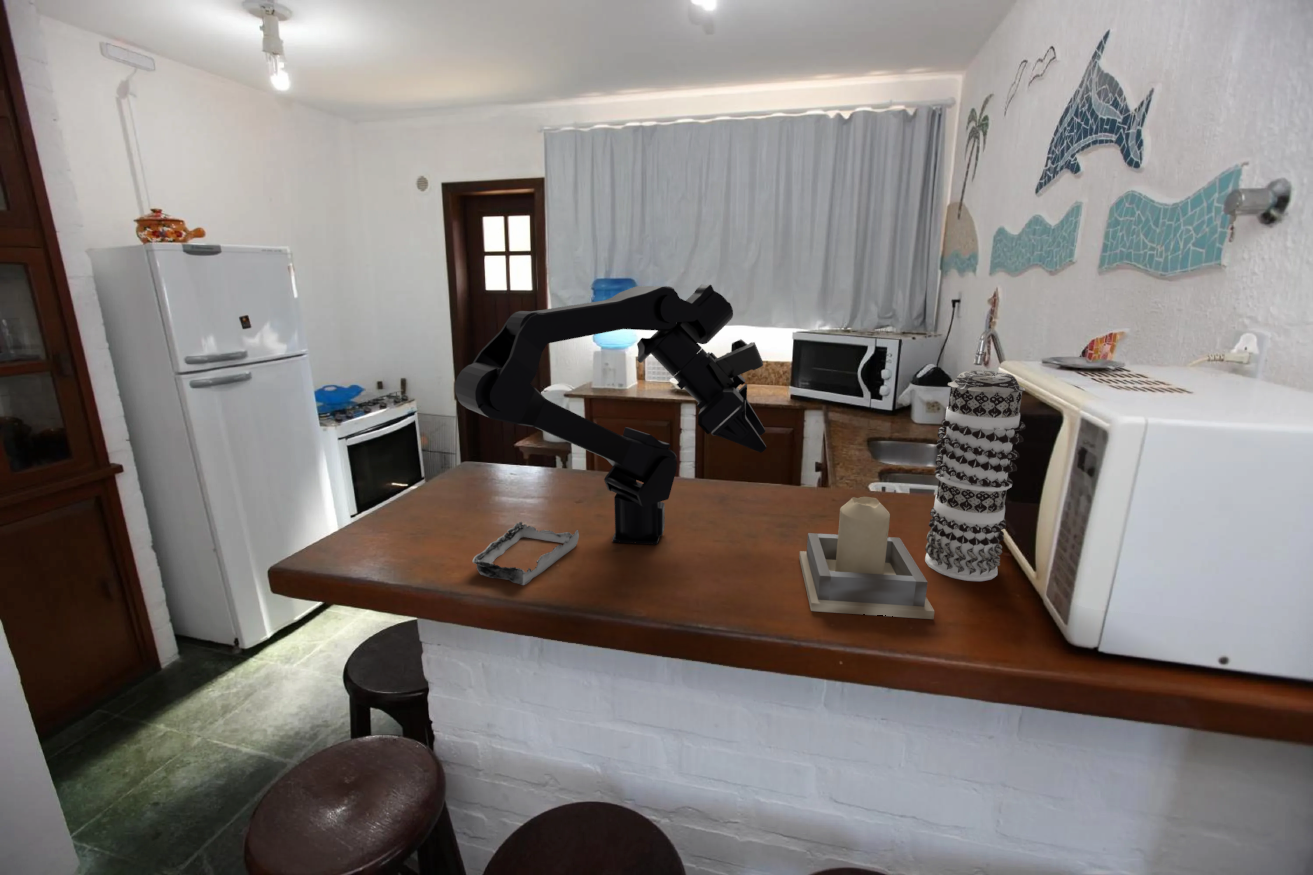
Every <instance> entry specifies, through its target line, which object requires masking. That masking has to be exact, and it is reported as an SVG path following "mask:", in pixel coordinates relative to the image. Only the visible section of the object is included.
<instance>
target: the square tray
mask: <svg viewBox="0 0 1313 875" xmlns="http://www.w3.org/2000/svg"><path fill="white" fill-rule="evenodd" d="M837 542H838V534H833V533H813V532H808V533H807V541H806V543H807V544H806V550H805V551H804V550H800V551H799V558H798V559H799V563H800V568H801V571H802V572H801V573H802V576H803V580H804V581H803V582H804V586H805V589H806V594H807V598H808V604H809V608H810V611H811V612H820V613H835V614H850V615H852V614H853V615H863V614H865V616H877V615H883V617H892V616H893V618H894V617H896V618H909V619H923V620H924V619H925V620H934V617H935V609H934V608H933V606H932V605H931V602H930V601H929V599H928V597H927V591H928V582H929V581H928V580H927V579H926V577H925V575H924V574H923V572H922V571H921V569H920V568H919V566H918V565H917V563H916V561H915V560H914V558H913V557H912V555H911V554H910V552H909V550H908V549H907V547H906V545H905V544H904V542H903V540H902V539H901V538H900V537H893V536H892V537H890V536H888V539H887V549H886V558H885V567H884V574H869V573H852V572H835V567H836V555H837ZM885 615H886V616H885Z"/></svg>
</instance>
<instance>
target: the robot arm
mask: <svg viewBox="0 0 1313 875" xmlns="http://www.w3.org/2000/svg"><path fill="white" fill-rule="evenodd" d="M733 316H734V309H733V307H732V305H731V303H730V302H729V301H728V300H727V299H726V298H725V297H724V296H723V295H721V294H720V293H719V292H717V291H715V290H714V287H713V285H712V284H700V285H699V286H698V287H697V288H696V289H695V290H694V292H693V293H692V294H691V295H690V296H689V297H688V298H687V299H685V300H684V299H682V298H680V296H679V294H678V292H677V291H676V290H675V288H674V287H672V286H667V285H665V286H664V285H655V286H654V285H637V286H634V287H631V288H629V289H626V290H623V291H620V292H618V293H617V294H615V295H613V296H612V297H610V298H607V299H605V300H599V301H598V300H597V301H592V302H585V303H580V304H579V303H578V304H573V305H567V306H560V307H559V306H558V307H553V308H546V309H540V310H533V311H532V310H531V311H527V310H519V311H515V312H514V313H512V314H511V315H510V316H509V318H508V319H507V320H506V322H505V323H504V324H503V327H502V328H501V329H500V331H499V332H498V333H496V334H495V336H494V337H493V338H492V339H490V341H489V342H488V343H486V345H485V346H483V348H481V350H480V351H479V352H478V354H477V356H476V357H475V358H474V360H473V362H472V363H471V364H467V365H466V366H465V367H464V368H463V369H462V370H461V371H460V372H459V374H457V376H456V380H455V383H454V388H455V389H454V390H455V391H454V392H455V395H456V397H457V401H458V402H459V403H460V405H461V406H463V407H465V409H468V410H470V411H472V412H474V413H477V414H479V415H482V416H484V417H487V418H489V419H492V420H495V421H499V422H503V423H508V424H514V425H516V426H525V427H532V428H535V429H538V430H540V431H542V432H543V433H547V434H548V435H549V434H550V435H551V436H554V437H555V438H559V439H561V440H562V441H565V442H567V443H569V444H572V445H575V446H577V447H579V448H582V449H583V450H586V451H588V452H590V453H592V454H595V455H597V456H600V457H601V458H604V459H605V460H607V461H608V463H609V464H610V465H611V466H612V467H611V468H610V470H609V471H608V473H607V474H606V476H605V477H604V479H603V480H604V483H605V486H606V488H607V491H609V492H613V493H614V494H615V495H614V496H613V498H614V499H613V500H614V505H613V506H614V534H613V536H612V542H613V543H619V544H620V543H621V544H639V545H642V544H643V545H657V544H658V543H659V540H660V537H661V536H663V534H664V530H665V524H666V523H665V514H666V513H665V510H666V509H665V502H664V501H667V500H669V498H670V495H671V491H672V489H673V484H674V480H675V477H676V473H677V465H678V463H677V462H678V461H677V455H676V453H675V451H673V450H672V449H670V448H671V446H672V445H671V444H670V443H668V442H665V441H661V440H658V439H657V438H656V437H655V436H653V435H652V434H649V433H646V432H643V431H640V430H637V429H633V428H631V427H626V426H625V427H624V430H623V434H622V435H621V434H619V433H616V432H614V431H613V430H610V429H608V428H606V427H604V426H603V425H600V424H598V423H596V422H594V421H592V420H590V419H588V418H585V417H584V416H581V415H579V414H577V413H575V412H573V411H572V410H569V409H567V408H565V407H563V406H561V405H558V404H557V403H555V402H552V401H550V400H549V399H547V398H546V397H545V396H544V395H543V394H542V393H541V392H540V391H539V390H538V389H537V388H536V387H535V386H534V385H532V382H533V380H534V379H535V377H536V375H537V372H538V368H539V365H540V361H541V357H542V354H543V351H545V348H546V347H547V345H548V344H552V343H557V342H558V343H559V342H562V341H568V340H575V339H579V338H583V337H589V336H595V335H600V334H606V333H609V332H615V331H620V330H634V331H635V330H637V331H656V332H654V334H653V335H652V336H651V337H648V338H647V337H641V338H640V339H639V340H638V342H637V343H636V346H637V349H638V351H637V362H639V364H640V363H641V364H642V363H644V361H645V360H646V359H647V358H648V357H649V356H650V355H652V357H653V358H655V360H656V361H657V362H658V363H659V364H660V365H661V366H662V367H663V368H664V369H665V370H666V371H667V372H668V373H669V374H670V375H671V376H672V377H673V378H674V379H675V381H677V383H676V386H677V387H678V388H679V389H680V390H683V389H684V390H685V391H686V392H687V393H688V394H689V395H690V396H691V397H692V398H694V400H695V401H696V402H697V405H696V407H697V408H698V409H700V410H699V412H698V414H697V425H698V426H699V427H700V428H701V429H702V430H703V432H705V433H706V434H707V435H712V436H713V437H714V436H716V437H719V438H722V439H724V440H727V441H731V442H733V443H736V444H737V445H741V446H743V447H745V448H748V449H751V450H753V451H755V452H758V453H760V454H761V453H763V452H764V451H766V449H767V445H766V444H765V442H764V440H763V439H762V438H761V436H763V435H764V434H765V432H766V429H765V427H764V426H763V423H762V422H761V420H760V419H759V417H758V415H757V413H756V412H755V411H754V409H753V407H752V406H751V404H750V402H749V400H748V398H747V397H748V384H747V383H746V379H745V378H744V377H743V376H742V374H745V373H747V372H749V371H752V370H753V371H756V370H758V369H760V368H762V367H763V366H764V361H763V359H762V356H761V354H760V351H759V350H758V347H757V345H756V341H754V342H753V341H752V342H749V343H746V342H745V341H744V339H741V338H740V339H738V340H737V341H733V342H732V343H731V350H730V352H726V353H725V354H724V355H721V356H719V357H717V356H716V355H715V354H714V353H713V352H709V351H708V352H706V350H705V349H704V348H703V347H702V346H700V345H707V343H710V341H711V340H712V339H713V338H714V337H715V336H716V335H717V334H718V333H719V332H720V331H721V330H722V329H723V328H724V327H725V326H727V324H728V323H729V322H730V321H731V320H732V319H733ZM740 386H742V387H741V388H739V387H740Z"/></svg>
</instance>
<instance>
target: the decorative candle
mask: <svg viewBox="0 0 1313 875" xmlns="http://www.w3.org/2000/svg"><path fill="white" fill-rule="evenodd" d="M947 386H949V387H950V390H949V399H948V405H947V406H946V410H945V418H944V419H942V420H941V425H943V426H941V427H939V428H938V431H937V437H938V438H939V439H937V442H936V443H937V444H936V445H935V446H936V449H937V450H938V452H939V453H940V454H937V456H936V460H935V464H936V465H937V466H936V467H935V471H934V473H933V474H935V478H937V480H938V485H937V494H935V498H934V505H933V507H932V508H931V510H930V512H929V514H930V516H931V517H932V518H931V519H930V520H929V522H928V526H929V528H930V530H929V531H928V533H927V536H926V541H927V543H926V546H925V553H926V554H925V557H924V561H925V563H926V564H927V566H928V567H929V568H931V569H932V570H934V571H935V572H937V573H939V574H941V575H943V576H946V577H949V578H952V579H956V580H962V581H965V582H966V581H967V582H985V581H991V580H993V579H995V578H996V577H997V576H998V566H1000V565H1001V562H1000V561H1001V557H1000V555H1002V553H1003V550H1002V549H1003V546H1002V545H1001V544H1000V542H1002V541H1004V540H1005V537H1004V535H1005V533H1004V530H1005V529H1006V528H1007V520H1006V519H1005V513H1006V505H1005V502H1006V496H1007V490H1009V489H1010V488H1012V486H1013V484H1014V482H1013V480H1012V479H1011V478H1009V473H1013V472H1017V470H1018V467H1017V465H1016V464H1015V463H1014V462H1013V461H1015V460H1016V459H1017V460H1018V459H1019V458H1020V453H1019V452H1018V450H1016V449H1015V448H1013V445H1014V444H1015V445H1018V444H1020V443H1023V442H1024V438H1023V435H1021V434H1020V433H1018V432H1020V431H1023V430H1025V429H1026V428H1027V425H1026V423H1024V422H1023V421H1020V420H1021V412H1020V410H1021V403H1022V398H1023V392H1024V391H1026V388H1025V387H1023V386H1021V385H1020V384H1019V382H1018V381H1017V378H1016V376H1014V375H1013V374H1011V373H1006V372H1001V371H992V370H967V371H962V372H961V373H959V375H957V376H956V378H955V379H954V380H953V381H951V382H948V383H947ZM1017 431H1018V432H1017ZM1016 432H1017V433H1016Z"/></svg>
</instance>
